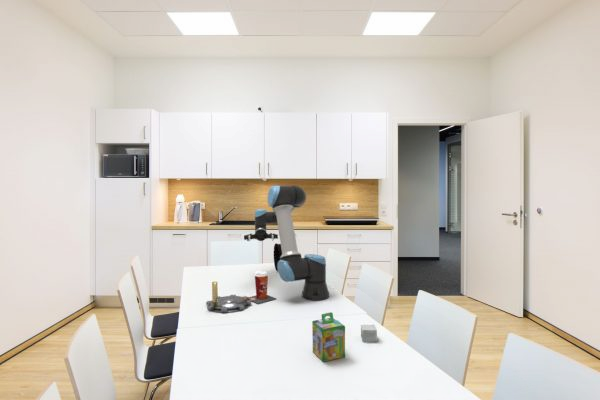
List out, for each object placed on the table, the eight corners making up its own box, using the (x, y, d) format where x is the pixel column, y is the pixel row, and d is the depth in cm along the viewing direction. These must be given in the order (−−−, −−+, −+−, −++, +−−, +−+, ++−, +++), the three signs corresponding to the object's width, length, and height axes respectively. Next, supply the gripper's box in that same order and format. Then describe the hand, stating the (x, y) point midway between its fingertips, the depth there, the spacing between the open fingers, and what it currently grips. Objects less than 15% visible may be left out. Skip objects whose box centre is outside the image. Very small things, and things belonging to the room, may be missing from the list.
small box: (360, 336, 142) (360, 324, 142) (374, 336, 142) (374, 324, 142) (362, 342, 137) (362, 329, 136) (377, 342, 136) (377, 330, 136)
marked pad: (276, 299, 190) (276, 297, 190) (258, 304, 183) (258, 302, 182) (263, 294, 199) (263, 293, 199) (245, 299, 191) (245, 297, 191)
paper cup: (263, 300, 186) (262, 274, 186) (251, 298, 190) (251, 273, 190) (271, 296, 193) (271, 271, 192) (260, 294, 197) (260, 270, 196)
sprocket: (244, 294, 196) (243, 271, 196) (256, 307, 176) (256, 280, 175) (203, 300, 187) (202, 276, 186) (211, 314, 166) (210, 286, 166)
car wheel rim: (293, 272, 251) (292, 244, 250) (279, 273, 248) (279, 245, 248) (286, 266, 270) (286, 240, 270) (273, 267, 267) (273, 241, 267)
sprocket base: (258, 305, 180) (258, 304, 180) (220, 316, 166) (220, 315, 166) (236, 296, 197) (236, 295, 197) (199, 305, 182) (199, 304, 182)
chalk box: (323, 362, 121) (322, 320, 120) (311, 351, 129) (311, 311, 129) (346, 357, 124) (345, 316, 124) (333, 346, 133) (333, 308, 132)
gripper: (280, 239, 226) (282, 244, 205) (241, 240, 223) (239, 245, 202) (280, 228, 226) (282, 231, 205) (241, 229, 223) (239, 232, 202)
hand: (261, 238), depth 203 cm, fingers open, 13 cm apart
